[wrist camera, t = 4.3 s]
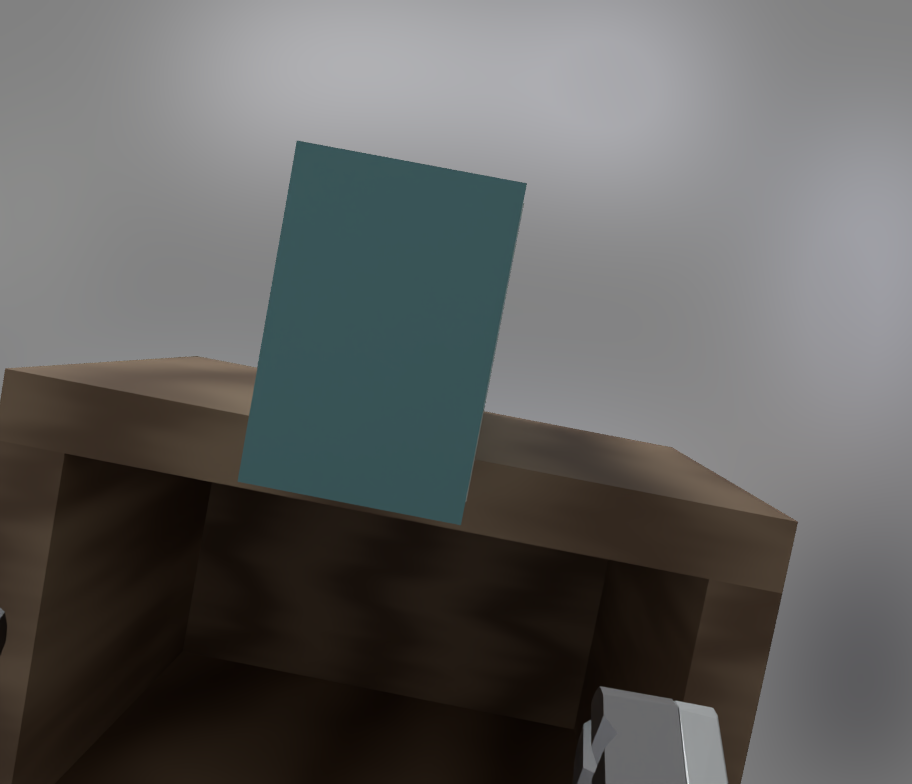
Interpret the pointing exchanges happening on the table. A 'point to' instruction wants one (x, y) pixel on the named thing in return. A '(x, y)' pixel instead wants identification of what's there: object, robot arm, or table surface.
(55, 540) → the brown wooden box
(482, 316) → the teal rectangular bar
